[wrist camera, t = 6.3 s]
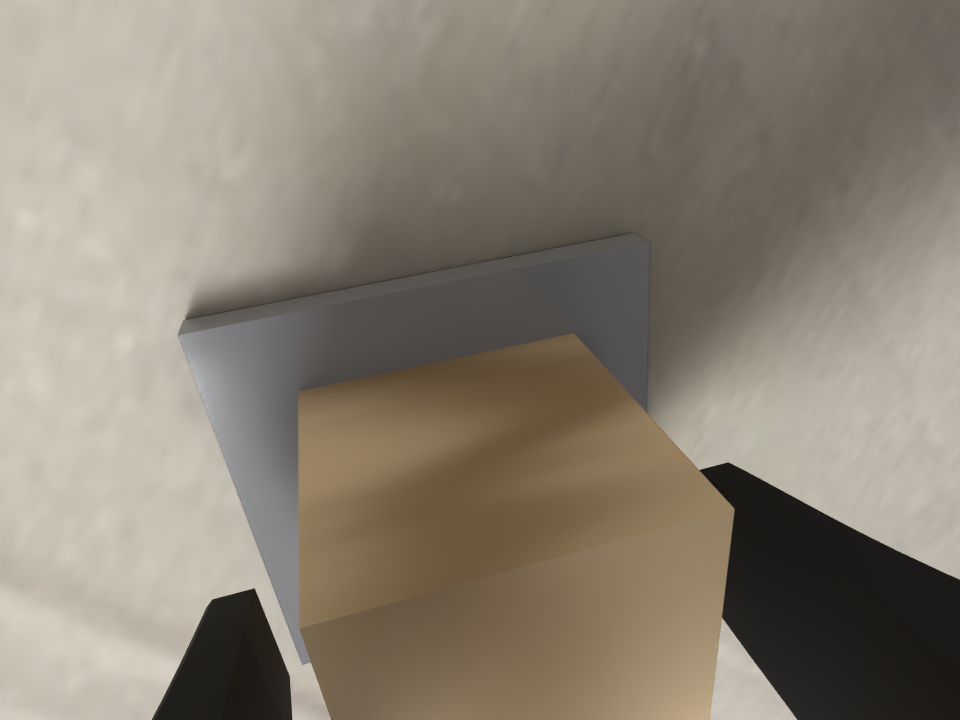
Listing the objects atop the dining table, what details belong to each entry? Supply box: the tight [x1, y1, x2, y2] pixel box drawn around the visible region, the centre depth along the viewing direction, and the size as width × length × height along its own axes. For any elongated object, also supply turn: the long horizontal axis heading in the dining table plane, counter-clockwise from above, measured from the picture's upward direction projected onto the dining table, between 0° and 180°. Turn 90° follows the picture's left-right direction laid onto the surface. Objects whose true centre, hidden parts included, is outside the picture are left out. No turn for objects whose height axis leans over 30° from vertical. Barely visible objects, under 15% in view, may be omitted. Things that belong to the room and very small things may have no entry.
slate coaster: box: [178, 233, 650, 665], centre depth 13 cm, size 8×8×1 cm
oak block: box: [298, 333, 735, 720], centre depth 10 cm, size 5×5×5 cm
